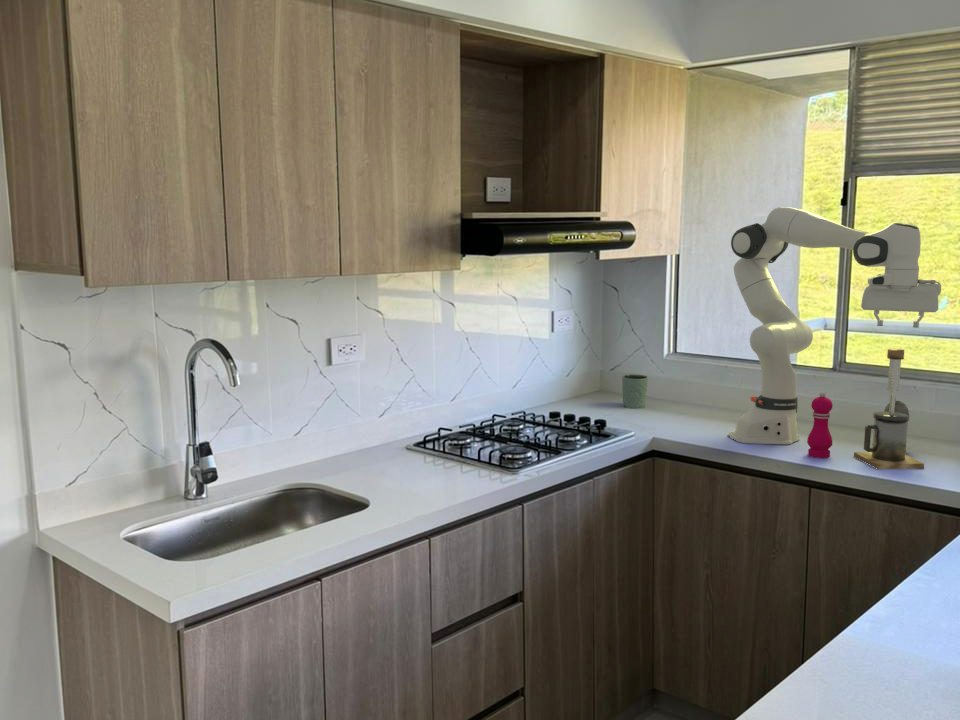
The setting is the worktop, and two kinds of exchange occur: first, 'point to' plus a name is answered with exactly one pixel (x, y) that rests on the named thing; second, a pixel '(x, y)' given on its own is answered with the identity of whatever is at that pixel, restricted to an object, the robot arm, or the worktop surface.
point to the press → (888, 434)
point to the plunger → (894, 368)
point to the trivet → (889, 462)
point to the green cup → (634, 390)
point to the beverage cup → (898, 407)
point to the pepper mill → (820, 428)
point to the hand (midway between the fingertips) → (897, 326)
